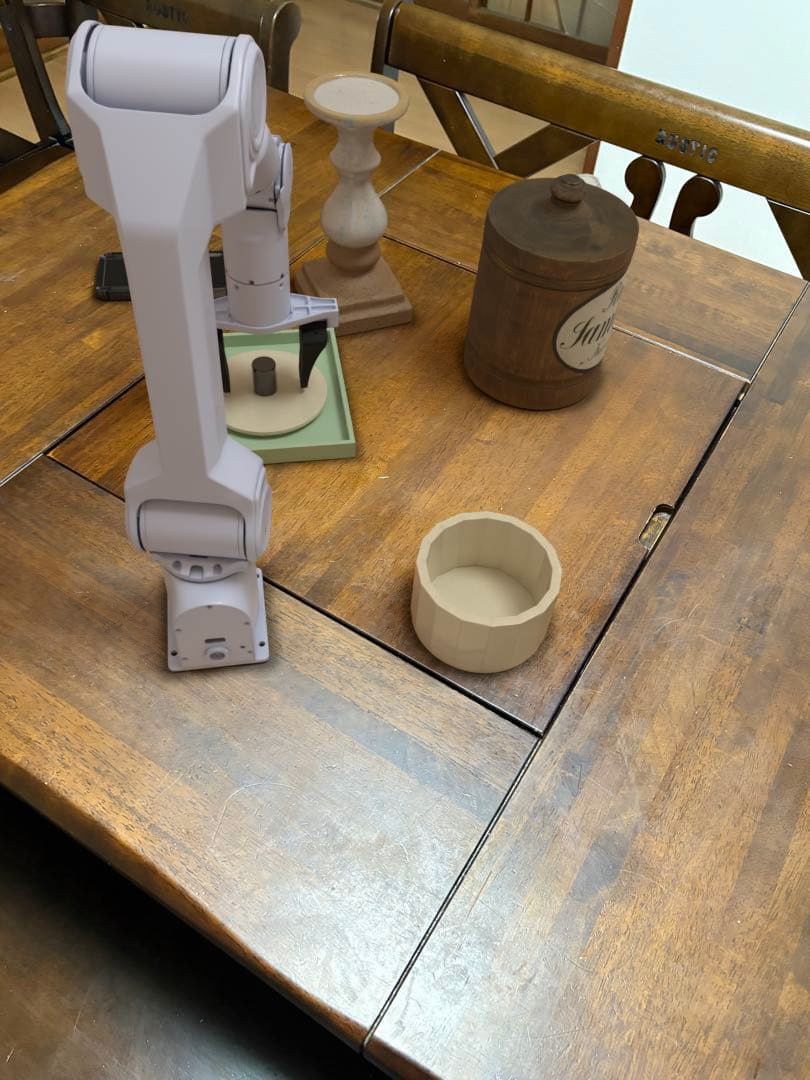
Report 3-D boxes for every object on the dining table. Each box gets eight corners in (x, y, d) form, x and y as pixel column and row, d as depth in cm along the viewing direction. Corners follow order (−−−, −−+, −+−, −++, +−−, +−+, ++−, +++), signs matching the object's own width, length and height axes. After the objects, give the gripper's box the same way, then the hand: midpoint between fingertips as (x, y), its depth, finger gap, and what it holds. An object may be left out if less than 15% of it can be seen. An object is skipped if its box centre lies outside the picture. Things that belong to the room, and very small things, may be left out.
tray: (355, 457, 90) (355, 442, 88) (188, 469, 87) (186, 454, 86) (333, 342, 101) (333, 327, 99) (185, 350, 98) (183, 335, 97)
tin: (561, 665, 76) (579, 617, 70) (424, 680, 74) (431, 633, 69) (526, 556, 83) (540, 506, 78) (401, 568, 81) (406, 517, 76)
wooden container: (582, 426, 95) (637, 237, 78) (446, 389, 97) (470, 197, 80) (608, 343, 104) (663, 158, 87) (484, 311, 106) (513, 124, 89)
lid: (334, 435, 91) (334, 402, 87) (205, 444, 89) (200, 410, 85) (320, 354, 99) (320, 321, 95) (201, 361, 97) (197, 327, 93)
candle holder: (413, 321, 104) (431, 112, 86) (322, 339, 101) (320, 126, 83) (379, 268, 110) (389, 62, 92) (292, 283, 107) (284, 74, 89)
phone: (100, 252, 107) (230, 250, 109) (102, 260, 108) (231, 258, 110) (94, 292, 102) (230, 289, 104) (96, 301, 103) (231, 298, 105)
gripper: (332, 239, 85) (332, 354, 96) (173, 245, 83) (191, 362, 94) (341, 283, 81) (340, 399, 91) (174, 290, 79) (192, 408, 89)
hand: (265, 383), depth 92 cm, fingers open, 7 cm apart
